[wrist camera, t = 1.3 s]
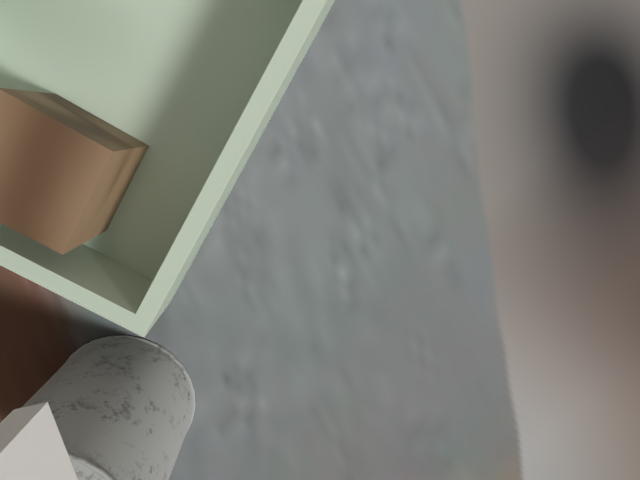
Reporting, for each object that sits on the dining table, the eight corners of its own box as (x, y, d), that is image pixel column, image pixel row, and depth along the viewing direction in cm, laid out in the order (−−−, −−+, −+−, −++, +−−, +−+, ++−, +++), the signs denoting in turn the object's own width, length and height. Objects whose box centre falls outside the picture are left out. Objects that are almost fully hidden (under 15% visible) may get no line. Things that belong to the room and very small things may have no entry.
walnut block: (15, 182, 32) (-51, 196, 26) (55, 93, 30) (-4, 87, 25) (106, 230, 32) (62, 254, 27) (149, 145, 31) (113, 151, 25)
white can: (26, 381, 35) (-117, 515, 23) (140, 308, 34) (52, 409, 22) (113, 483, 37) (22, 654, 25) (222, 417, 36) (182, 562, 24)
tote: (-78, 171, 32) (-164, 183, 26) (85, -221, 28) (26, -312, 22) (171, 300, 34) (144, 337, 29) (358, -43, 30) (371, -82, 24)
